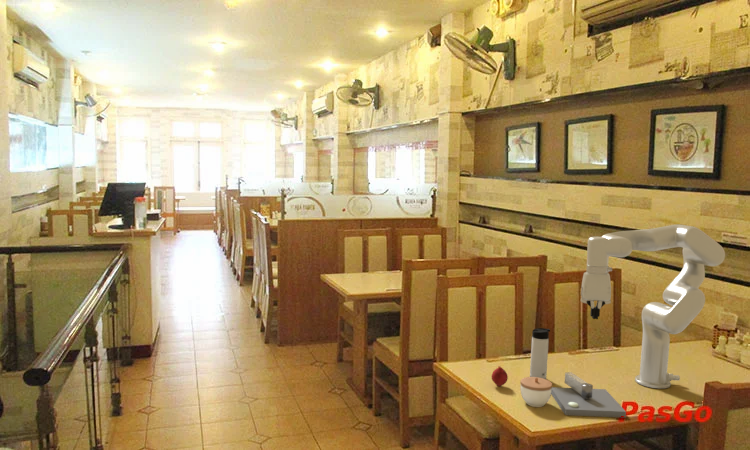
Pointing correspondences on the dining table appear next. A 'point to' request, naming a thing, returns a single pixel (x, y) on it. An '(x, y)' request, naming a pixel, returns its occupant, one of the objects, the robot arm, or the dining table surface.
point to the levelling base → (587, 403)
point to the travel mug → (539, 353)
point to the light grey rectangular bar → (579, 385)
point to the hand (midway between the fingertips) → (594, 318)
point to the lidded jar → (536, 391)
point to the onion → (499, 376)
